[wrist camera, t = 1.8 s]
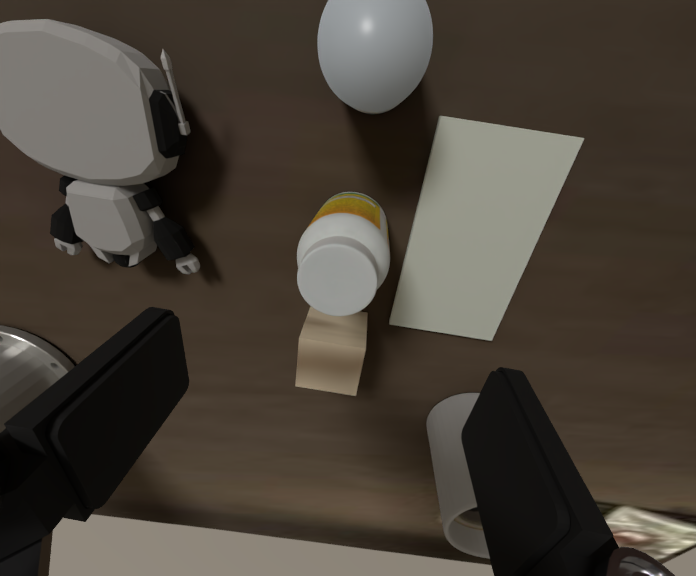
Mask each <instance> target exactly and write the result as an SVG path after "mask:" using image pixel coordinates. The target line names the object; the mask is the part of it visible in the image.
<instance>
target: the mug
mask: <svg viewBox="0 0 696 576" xmlns="http://www.w3.org/2000/svg"><path fill="white" fill-rule="evenodd" d="M479 395H480V393H463V394H458V395H455V396H451V397H449V398H447V399H444V400H443V401H441V402H439V403H438V404H437V405H436V406H435V407H434V408H433V409H432V410H431V412H430V413H429V415H428V418H427V423H426V426H427V433H428V439H429V445H430V451H431V457H432V463H433V469H434V475H435V482H436V488H437V494H438V500H439V506H440V512H441V518H442V524H443V531H444V534H445V537H446V539H447V540H448V541H449V543H450V544H452V545H453V546H454V547H455V548H457V549H459V550H460V551H463V552H465V553H467V554H470V555H474V556H478V557H483V558H490V557H489V552H488V548H487V544H486V540H485V536H484V532H483V528H482V524H481V519H480V515H479V511H478V507H477V503H476V499H475V495H474V490H473V486H472V482H471V478H470V474H469V470H468V466H467V462H466V457H465V453H464V449H463V445H462V440H461V433H462V429H463V427H464V425H465V423H466V421H467V419H468V417H469V415H470V413H471V411H472V409H473V407H474V405H475V403H476V401H477V399H478V397H479Z"/></svg>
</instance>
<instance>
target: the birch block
mask: <svg viewBox="0 0 696 576" xmlns="http://www.w3.org/2000/svg"><path fill="white" fill-rule="evenodd" d="M367 317H368V313H367V312H361V311H359V312H357V313H355V314H352V315H347V316H331V315H327V314H324V313H322V312H319V311H317V310H316V309H314V308H313V307H310V309H309V312H308V315H307V318H306V320H305V323H304V326H303V329H302V331H301V334H300V337H299V347H298V360H297V372H296V385H295V386H298V387H304V388H310V389H316V390H322V391H328V392H334V393H340V394H346V395H352V396H356V393H357V388H358V383H359V379H360V374H361V369H362V365H363V360H364V355H365V351H366V337H367Z"/></svg>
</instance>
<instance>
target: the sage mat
mask: <svg viewBox="0 0 696 576" xmlns="http://www.w3.org/2000/svg"><path fill="white" fill-rule="evenodd" d="M583 140H584V138H579V137H573V136H567V135H560V134H554V133H547V132H541V131H535V130H528V129H522V128H515V127H509V126H503V125H496V124H490V123H483V122H477V121H471V120H464V119H458V118H451V117H445V116H439V119H438V123H437V127H436V131H435V136H434V140H433V144H432V148H431V152H430V156H429V160H428V164H427V168H426V172H425V176H424V180H423V185H422V189H421V193H420V197H419V201H418V205H417V209H416V213H415V217H414V221H413V225H412V230H411V234H410V238H409V242H408V246H407V250H406V254H405V258H404V262H403V266H402V270H401V274H400V279H399V283H398V287H397V291H396V295H395V299H394V303H393V307H392V311H391V315H390V319H389V324H390V325H396V326H402V327H409V328H415V329H421V330H427V331H433V332H440V333H446V334H452V335H458V336H464V337H471V338H477V339H483V340H489V341H492V339H493V337H494V335H495V333H496V330H497V328H498V326H499V324H500V322H501V319H502V317H503V315H504V313H505V311H506V308H507V306H508V304H509V302H510V300H511V298H512V295H513V293H514V291H515V289H516V287H517V284H518V282H519V280H520V278H521V276H522V274H523V271H524V269H525V267H526V265H527V263H528V260H529V258H530V256H531V254H532V252H533V249H534V247H535V245H536V243H537V241H538V239H539V236H540V234H541V232H542V230H543V228H544V225H545V223H546V221H547V219H548V217H549V215H550V212H551V210H552V208H553V206H554V204H555V201H556V199H557V197H558V195H559V193H560V190H561V188H562V186H563V184H564V182H565V180H566V177H567V175H568V173H569V171H570V169H571V166H572V164H573V162H574V160H575V158H576V156H577V153H578V151H579V149H580V147H581V145H582V142H583Z"/></svg>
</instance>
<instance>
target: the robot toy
mask: <svg viewBox="0 0 696 576" xmlns="http://www.w3.org/2000/svg"><path fill="white" fill-rule="evenodd" d="M161 61H162V64H163V68H164V69H165V70H166V74H167V77H168V81H169V84H170V87H169V85H168V83H167V81H166V80H165V78H164V76H163V74H162V72H161V70H160V69H159V68H158V67H157V66H156V65H154V64H153V63H152V62H151V61H150V60H149V59H148V58H147V57H146V56H145V55H144V54H142V53H140V52H139V51H137V50H136V49H134V48H132V47H130V46H128V45H126V44H124V43H122V42H120V41H118V40H116V39H114V38H111V37H108V36H105V35H103V34H100V33H97V32H94V31H91V30H88V29H86V28H83V27H80V26H77V25H72V24H68V23H63V22H58V21H54V20H49V19H39V20H16V21H8V22H4V23H0V129H1V131H2V134H3V135H4V136H5V137H6V138H8V139H9V140H10V141H11V142H12V143H13V144H14V145H15V146H17V147H18V148H19V149H20V150H21V151H22V152H24V153H25V154H26V155H27V156H29V157H30V158H32V159H33V160H35V161H36V162H38V163H39V164H41V165H43V166H45V167H47V168H49V169H51V170H53V171H56V172H58V173H60V174H63V175H65V176H63V177H61V178H60V186H59V191H60V192H61V193H62V194H63V195H65V196H66V204H64V205H63V206H62V207H60V208H59V209H58V210H57V211H56V212H55V213H54V214H53V215H52V218H51V230H50V234H51V235H52V236H54V237H55V239H54V241H55V245H56V247H57V248H59V249H60V250H62V251H65V250H67V253H68V254H70V255H77V254H79V252H80V251H81V249H82V247H83V245H82V244H81V242H83V241H85V242H87V243H88V244H89V245H90V246H91V248H92V249H93V251H94V252H95V253H96V255H97V256H98V257H99V258H101V259H102V260H104V261H106V262H108V263H111V262H113V261H114V260H115V262H116V263H117V264H119V265H120V266H123V267H134V266H136V265H138V264H139V263H140V262H141V261H142V260H143V259H145V258H146V257H147V256H149V255H150V254H152V253H153V252H155V251H156V248H157V246H158V247H159V249H160V250H161V252H162V253H163V255H164V256H165V258H166V259H167V260H173V259H176V267H177V268H178V269H179V270H180V271H181V272H182V273H184V274H190V273H191V272H193V273H194V272H197V271H199V269H200V263H199V260H198V258H197V257H195V256H194V255H193V254H191V253H190V251H192V250H193V248H194V247H195V246H194V245H193V243H192V242H191V240H190V238H189V237H188V235H187V233H186V232H185V230H184V228H183V227H182V226H180V225H179V224H177V223H176V222H174V221H172V220H171V219H169V218H167V217H165V216H164V214H163V212H162V211H161V209H160V208H159V205H161V203H162V200H161V198H160V196H159V195H158V193H157V191H156V190H155V188H151V189H149V188H148V187H147V186H146V185H145V184H143V183H145V182H149V181H151V180H154V179H156V178H159V177H161V176H164V175H166V174H168V173H169V172H171V171H172V170H173V169H175V168H176V166H177V162H178V158H179V155H182V154H185V146H186V142H187V135H188V134H189V133H190V132H191V131H190V127H189V123H188V121H185V117H184V113H183V110H182V106H181V102H180V99H179V95H178V91H177V87H176V84H175V80H174V76H173V72H172V64H171V60H170V57H169V56H168V54H167V53H166V52H165V51H164V49H163V50H162V55H161ZM170 88H171V89H170Z"/></svg>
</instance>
